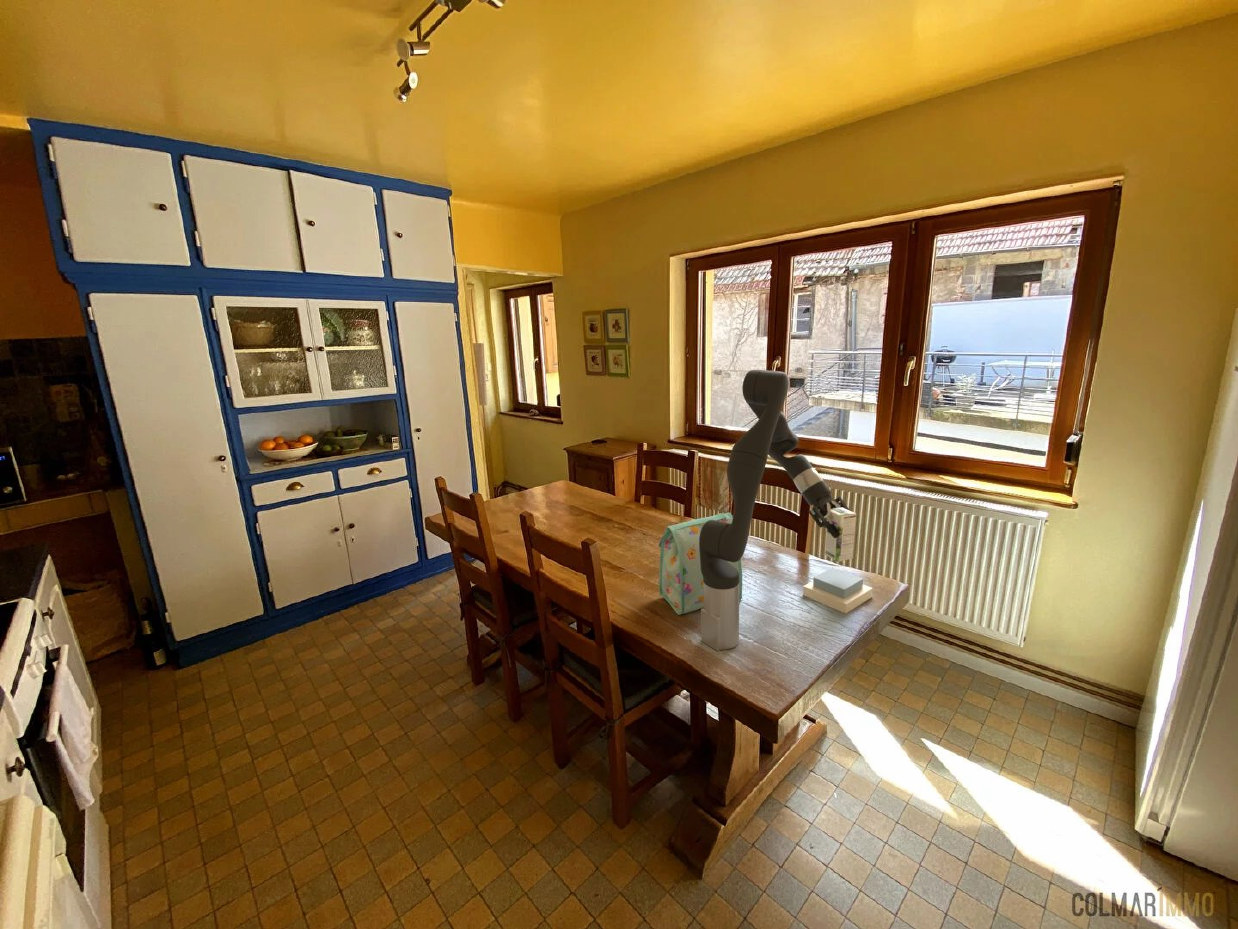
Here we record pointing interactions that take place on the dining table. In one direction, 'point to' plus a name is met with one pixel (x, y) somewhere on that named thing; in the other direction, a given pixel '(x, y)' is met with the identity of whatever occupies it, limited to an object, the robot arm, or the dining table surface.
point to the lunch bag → (686, 564)
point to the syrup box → (844, 543)
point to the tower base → (837, 600)
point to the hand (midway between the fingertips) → (845, 533)
